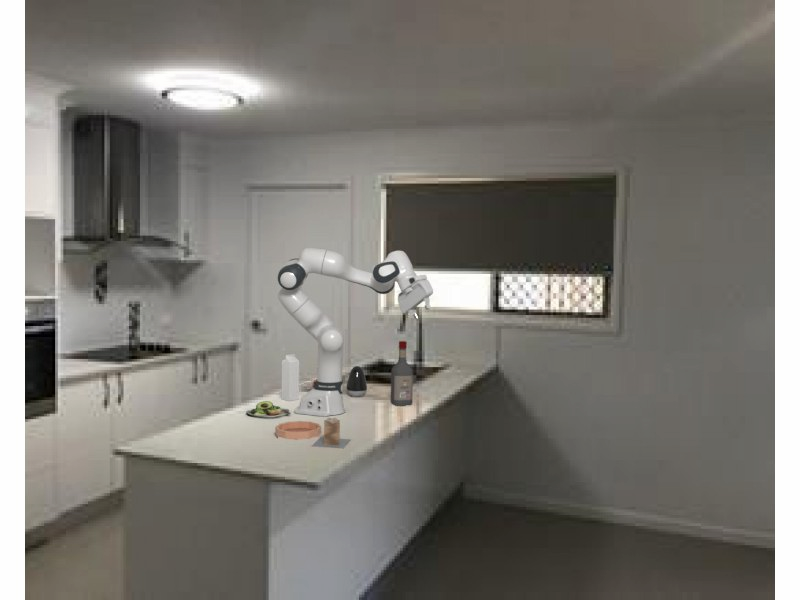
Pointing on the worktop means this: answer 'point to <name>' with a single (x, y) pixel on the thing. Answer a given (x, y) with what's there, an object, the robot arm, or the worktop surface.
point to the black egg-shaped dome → (356, 382)
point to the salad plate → (267, 411)
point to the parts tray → (321, 444)
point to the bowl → (298, 430)
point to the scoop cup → (331, 431)
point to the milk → (290, 378)
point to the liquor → (401, 379)
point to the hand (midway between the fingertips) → (422, 313)
